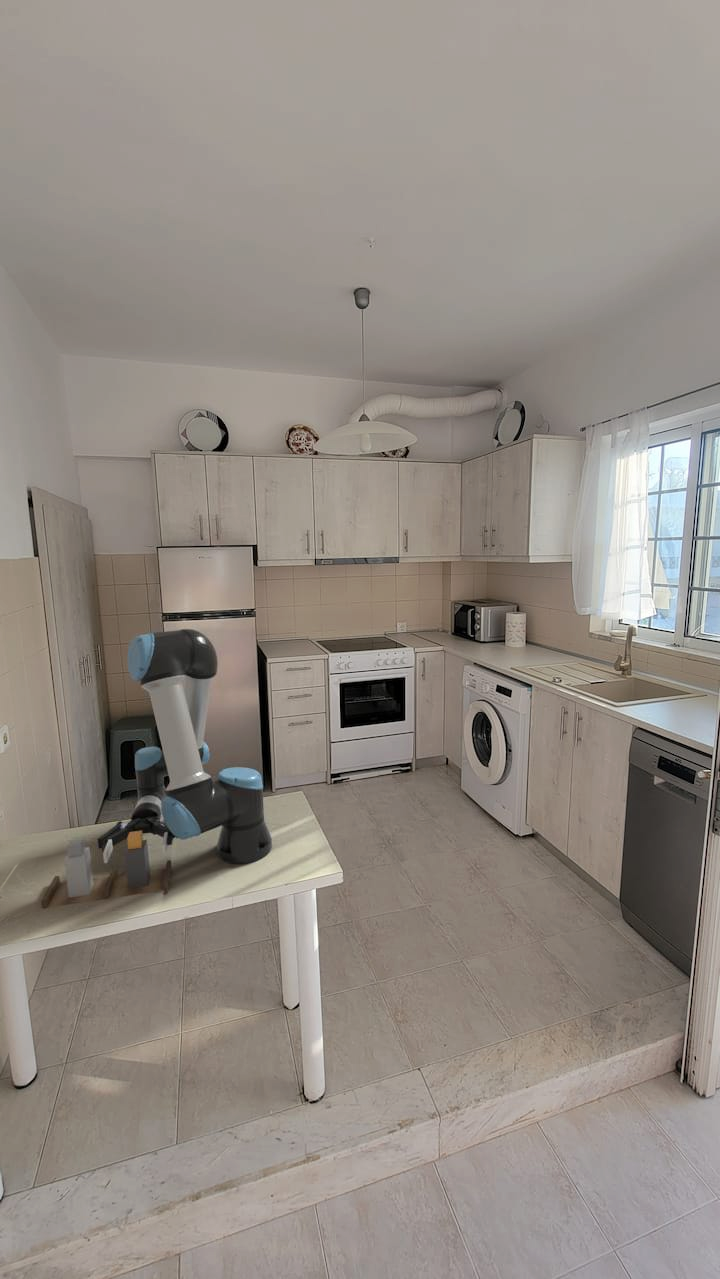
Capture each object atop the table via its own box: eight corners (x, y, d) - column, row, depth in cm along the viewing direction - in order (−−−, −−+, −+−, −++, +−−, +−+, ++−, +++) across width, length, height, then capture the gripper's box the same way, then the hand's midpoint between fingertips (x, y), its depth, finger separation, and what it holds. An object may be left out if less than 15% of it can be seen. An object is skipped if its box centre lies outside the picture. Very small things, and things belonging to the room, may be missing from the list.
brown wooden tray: (172, 870, 145) (171, 860, 145) (167, 893, 136) (166, 882, 135) (56, 887, 139) (54, 876, 139) (42, 911, 130) (41, 900, 129)
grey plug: (93, 883, 139) (88, 836, 136) (89, 894, 134) (83, 845, 132) (74, 886, 138) (68, 838, 135) (68, 897, 133) (62, 848, 131)
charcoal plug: (150, 875, 142) (145, 828, 139) (147, 885, 137) (142, 837, 135) (131, 878, 141) (126, 831, 138) (128, 888, 136) (123, 840, 134)
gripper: (193, 820, 160) (188, 860, 139) (101, 832, 154) (81, 875, 134) (191, 796, 159) (186, 832, 138) (98, 807, 153) (78, 847, 133)
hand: (134, 854), depth 136 cm, fingers open, 13 cm apart
